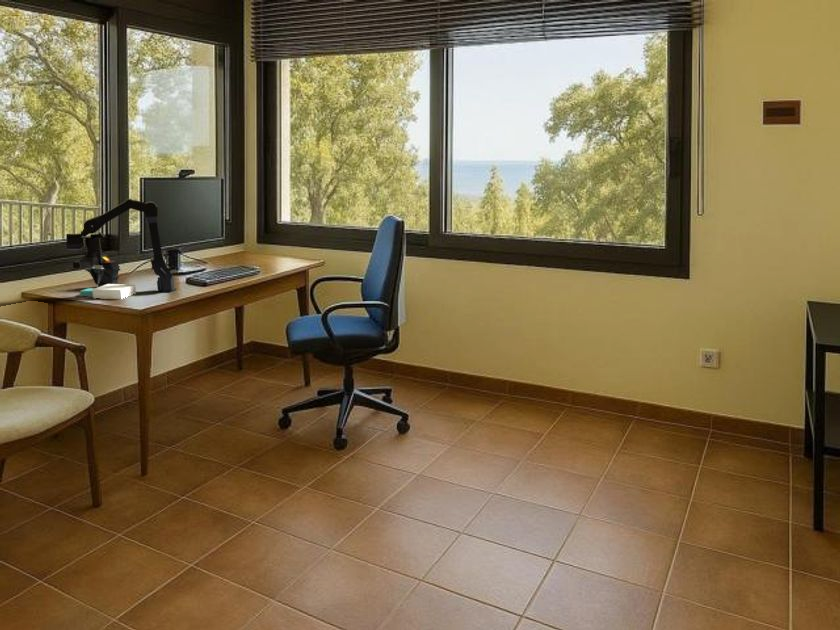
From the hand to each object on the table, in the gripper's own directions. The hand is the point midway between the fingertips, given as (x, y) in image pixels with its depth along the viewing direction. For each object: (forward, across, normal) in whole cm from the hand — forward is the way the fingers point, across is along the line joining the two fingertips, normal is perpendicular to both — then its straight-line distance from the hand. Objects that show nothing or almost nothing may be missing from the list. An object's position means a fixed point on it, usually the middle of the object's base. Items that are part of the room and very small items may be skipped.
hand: (97, 284), depth 323 cm
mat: (+5, -4, +2) cm, 7 cm away
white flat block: (+5, +8, 0) cm, 9 cm away
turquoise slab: (+5, -3, +1) cm, 6 cm away
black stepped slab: (+5, -4, +16) cm, 17 cm away
